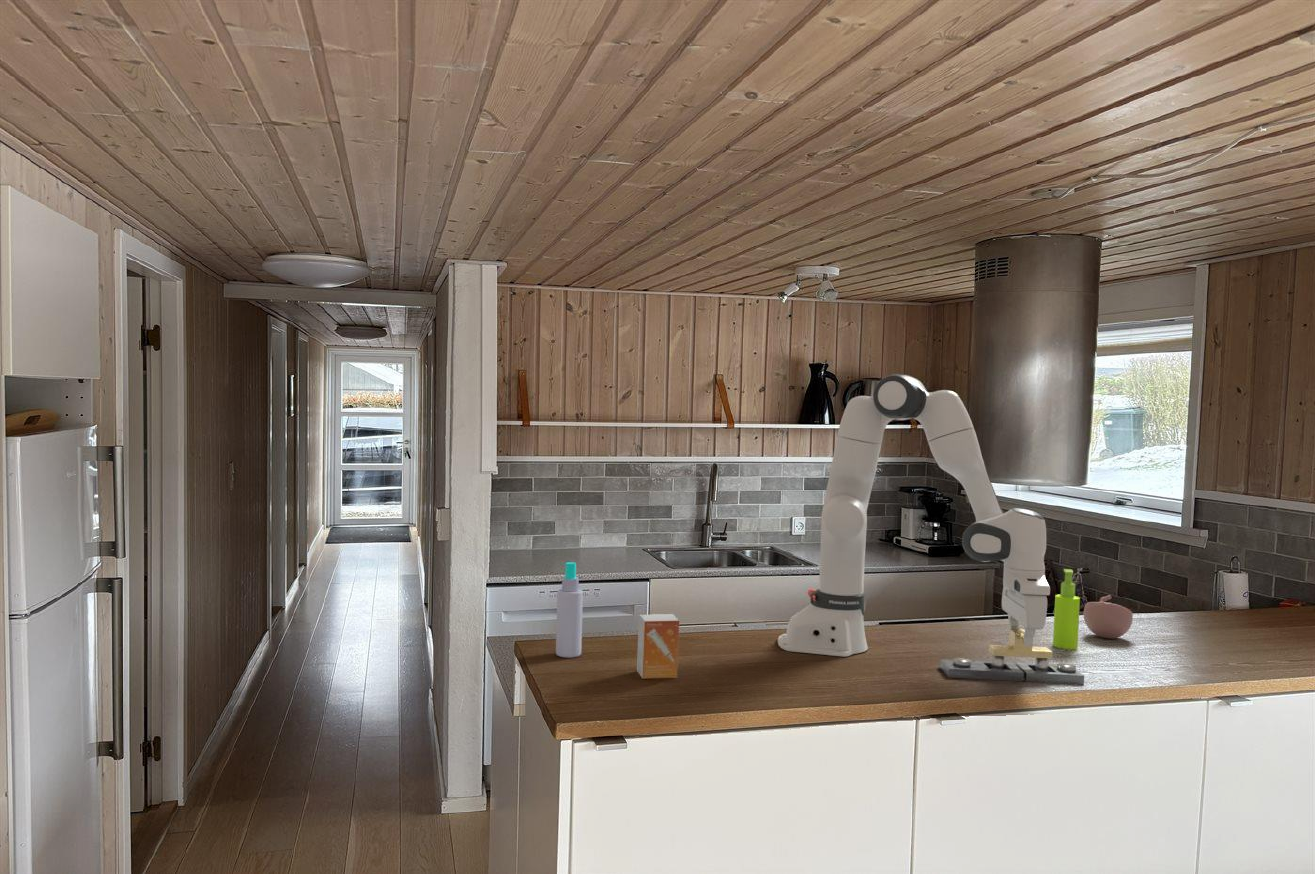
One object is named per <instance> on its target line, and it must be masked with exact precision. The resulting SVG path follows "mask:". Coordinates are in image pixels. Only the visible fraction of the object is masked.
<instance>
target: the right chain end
mask: <svg viewBox="0 0 1315 874" xmlns="http://www.w3.org/2000/svg"><path fill="white" fill-rule="evenodd" d="M1014 664H1015V665H1016V666H1017V667H1018V668H1019V669H1020V670H1022V671H1023V672H1024V680H1023V681H1025V682H1030V683H1048V684H1049V683H1051V684H1069V685H1070V684H1072V685H1085V675H1084V674H1083V673H1081V672H1080V671H1079V670H1078V669H1077V665H1075V664H1072V663H1067V662H1059V663H1056V664H1049V665H1048V672H1039V671H1035V663H1030V662H1029V663H1028V662H1027V663H1026V662H1015V663H1014Z"/></svg>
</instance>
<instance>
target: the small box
mask: <svg viewBox="0 0 1315 874" xmlns="http://www.w3.org/2000/svg"><path fill="white" fill-rule="evenodd" d="M637 629H638V630H637V633H638V634H637V654H636V659H637V661H636V671H637V673H638V674H639V675H640V677H641V679H643V680H645V679H677V678H678V667H679V666H678V665H679V641H680V636H679V635H680V619H678V617H676V615H674V613H668V614H667V613H665V614H664V613H652V614H638V628H637Z"/></svg>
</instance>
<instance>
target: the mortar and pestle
mask: <svg viewBox="0 0 1315 874" xmlns="http://www.w3.org/2000/svg"><path fill="white" fill-rule="evenodd" d="M1111 599H1112V595H1110V594H1109V595H1106V596H1102V597H1100V598H1099V601H1088V602H1087V603H1085V605H1084V608H1083V621H1084V623H1085V625H1086V627H1087V628H1088V629H1089V631H1091V633H1092V634H1093V635H1096V636H1098V637H1100V638H1103V639H1111V640H1112V639H1118V638H1120V637H1122V636H1124V635H1125V634H1127V633H1128V631H1129V630H1130V629H1131V627H1132V624H1133V621H1134V620H1133V619H1134V618H1133V617H1134V615H1133V612H1132V611H1131V610H1130V609H1129V608H1127V607H1125V606H1122V605H1120V604H1117V603H1112V602H1106V601H1109V600H1111Z"/></svg>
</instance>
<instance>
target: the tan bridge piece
mask: <svg viewBox="0 0 1315 874" xmlns="http://www.w3.org/2000/svg"><path fill="white" fill-rule="evenodd" d="M1024 633H1025V630H1024V628H1019V629H1010V628H1009V634H1008V636H1009V637H1008V645H1005V644H988V652H989V653H990V654H991V655H990V656H991V657H990V661H991V669H998V670H1004V662H1005V657H1012V658H1013V657H1014V658H1015V657H1016V658H1017V657H1018V658H1030V659H1031V658H1033V659H1034V658H1035V663H1034V664H1035V671H1039V672H1048V665H1049V662H1050V661H1049V660H1050V659H1053V651H1052V650H1050V649H1049V648H1048V647H1045V646H1033V644H1032V645H1031V646H1028V645H1025V644H1024V643H1023V636H1024Z"/></svg>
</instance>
